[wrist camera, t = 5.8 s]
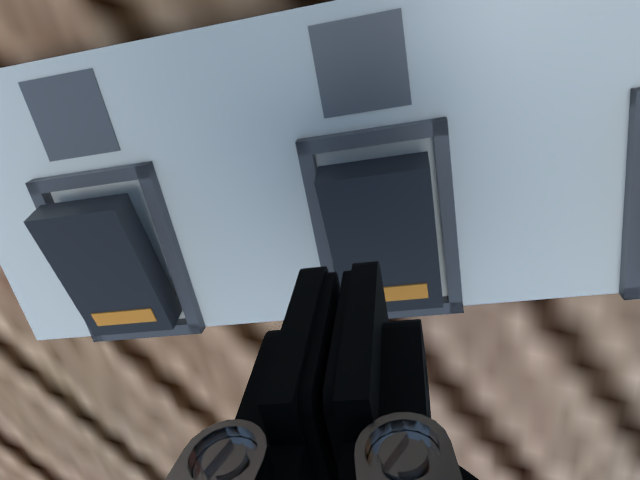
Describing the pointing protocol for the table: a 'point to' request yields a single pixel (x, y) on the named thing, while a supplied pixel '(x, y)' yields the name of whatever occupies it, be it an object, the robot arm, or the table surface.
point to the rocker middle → (384, 225)
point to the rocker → (106, 264)
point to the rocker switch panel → (339, 149)
